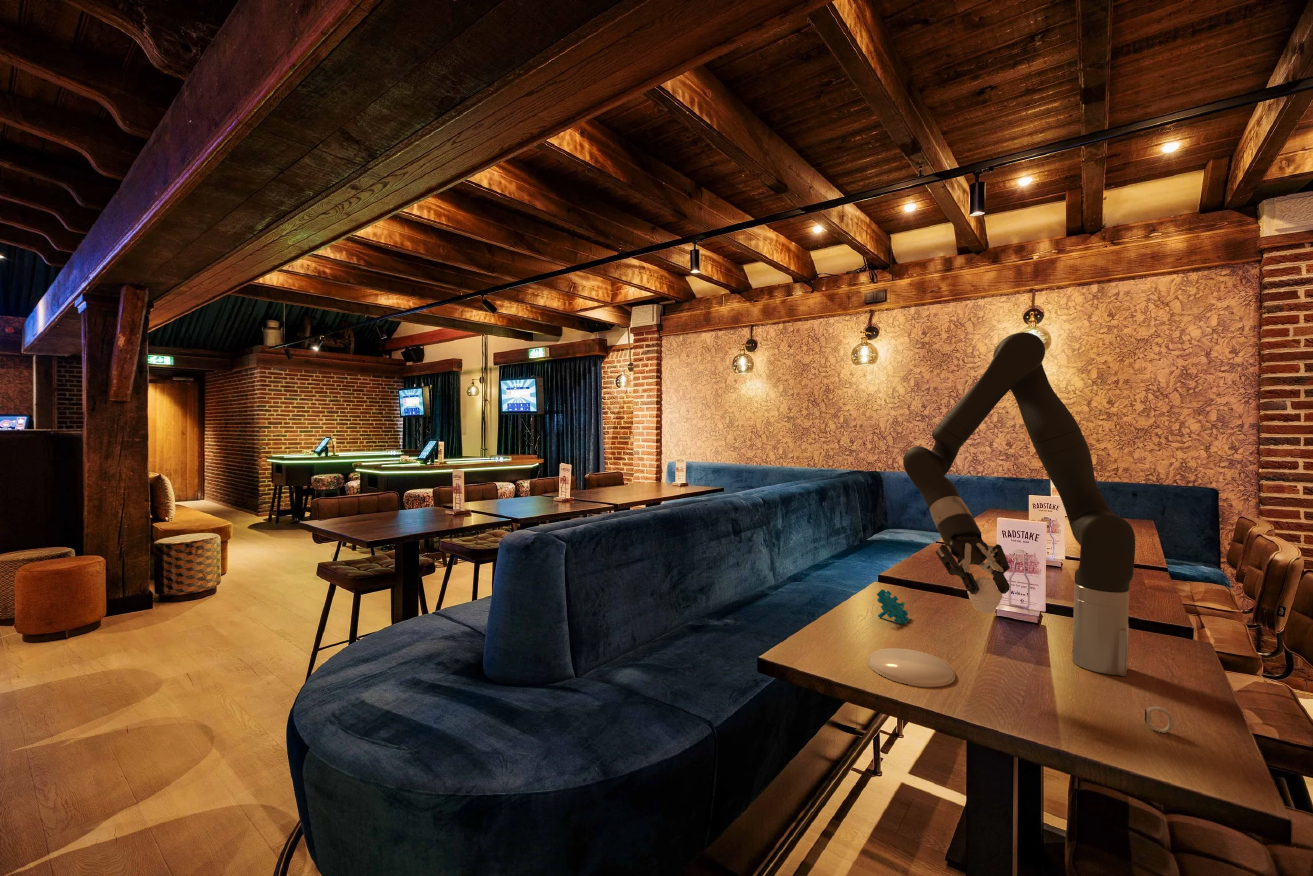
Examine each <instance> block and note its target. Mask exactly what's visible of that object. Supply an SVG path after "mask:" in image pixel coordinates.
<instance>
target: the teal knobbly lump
mask: <svg viewBox="0 0 1313 876" xmlns="http://www.w3.org/2000/svg"><path fill="white" fill-rule="evenodd" d="M891 595H892V592H890V591H889V590H885V589H883V588H882V589H880V590H879V592H877V593H876V596H877V602H878V604H882V605H880V608H881V610H882V612H880V613H879V614H878V615H877V617H878V618H879V617H882V618H883V617H884V616H888V618H889V619H892V618H894V622H895V623H896V624H901V625H903V624H905V625H906V624H907V622H909V620H910V619H909V617H908V616H909V611H907V610H905V609H904V608H905V606H906V603H905V602H904V601H901V602H898V600H899V598H898V596H896V595H893V596H892V597H891Z"/></svg>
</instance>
